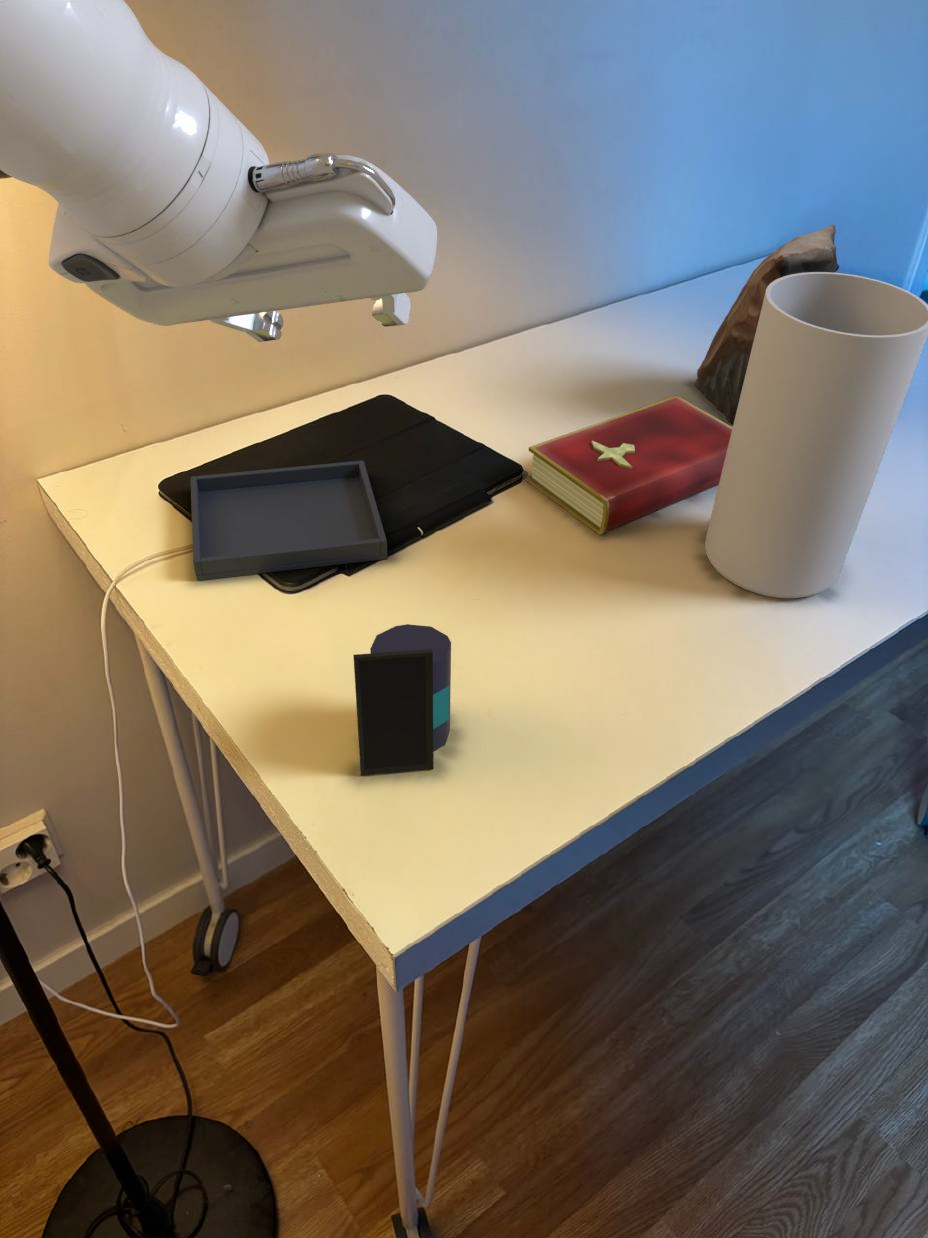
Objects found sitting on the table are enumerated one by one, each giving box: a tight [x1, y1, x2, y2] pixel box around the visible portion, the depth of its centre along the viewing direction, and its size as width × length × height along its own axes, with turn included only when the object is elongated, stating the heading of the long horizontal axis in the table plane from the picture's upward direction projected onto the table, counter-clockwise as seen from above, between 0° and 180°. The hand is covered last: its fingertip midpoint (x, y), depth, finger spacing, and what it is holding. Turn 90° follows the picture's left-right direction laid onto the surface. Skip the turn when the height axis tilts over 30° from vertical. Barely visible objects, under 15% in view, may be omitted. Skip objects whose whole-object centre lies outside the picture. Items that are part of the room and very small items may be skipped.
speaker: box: [352, 623, 452, 777], centre depth 68 cm, size 8×6×10 cm
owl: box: [693, 224, 840, 425], centre depth 106 cm, size 13×13×20 cm
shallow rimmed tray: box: [190, 460, 388, 582], centre depth 91 cm, size 17×14×2 cm
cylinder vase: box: [704, 272, 928, 599], centre depth 82 cm, size 12×12×25 cm
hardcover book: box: [525, 394, 733, 536], centre depth 99 cm, size 12×21×4 cm, turn 125°
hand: (334, 323), depth 59 cm, fingers open, 8 cm apart
